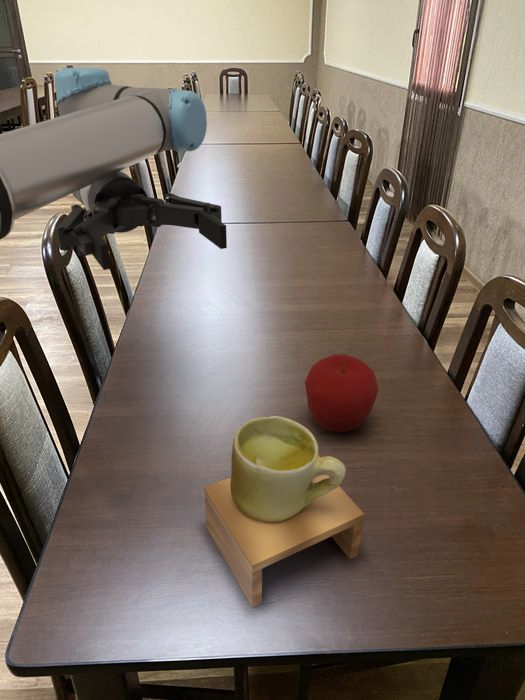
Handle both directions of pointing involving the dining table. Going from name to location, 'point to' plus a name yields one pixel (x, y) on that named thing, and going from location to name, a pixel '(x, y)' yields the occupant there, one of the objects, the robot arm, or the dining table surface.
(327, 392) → the apple
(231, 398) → the dining table surface
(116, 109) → the robot arm
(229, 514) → the shelf
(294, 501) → the mug
